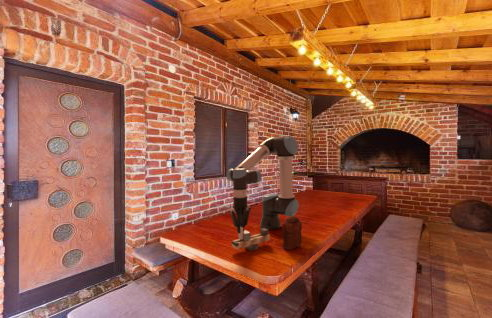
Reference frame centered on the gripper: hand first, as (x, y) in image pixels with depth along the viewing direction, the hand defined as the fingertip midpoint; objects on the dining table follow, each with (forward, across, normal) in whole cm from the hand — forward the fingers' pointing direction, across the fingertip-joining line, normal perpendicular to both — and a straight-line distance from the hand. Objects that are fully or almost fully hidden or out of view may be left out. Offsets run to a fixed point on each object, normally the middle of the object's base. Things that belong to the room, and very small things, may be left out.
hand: (240, 238), depth 141 cm
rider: (+2, +3, 0) cm, 3 cm away
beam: (+7, +7, 0) cm, 10 cm away
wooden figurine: (+8, +27, -12) cm, 31 cm away
